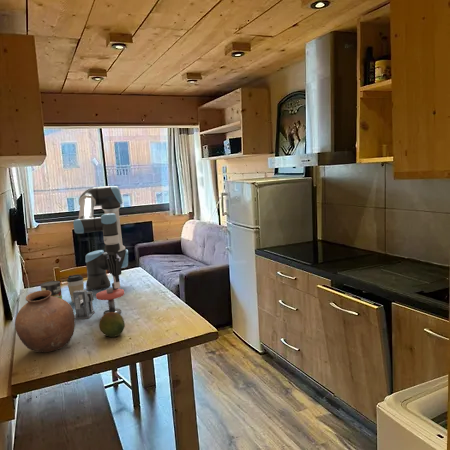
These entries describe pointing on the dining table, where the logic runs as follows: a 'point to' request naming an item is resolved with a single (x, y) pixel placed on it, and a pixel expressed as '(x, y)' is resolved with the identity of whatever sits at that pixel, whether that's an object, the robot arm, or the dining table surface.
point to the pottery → (45, 322)
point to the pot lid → (110, 293)
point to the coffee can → (52, 288)
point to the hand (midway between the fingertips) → (117, 287)
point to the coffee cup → (75, 285)
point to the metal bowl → (112, 307)
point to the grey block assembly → (86, 309)
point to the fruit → (111, 324)
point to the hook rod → (80, 303)
